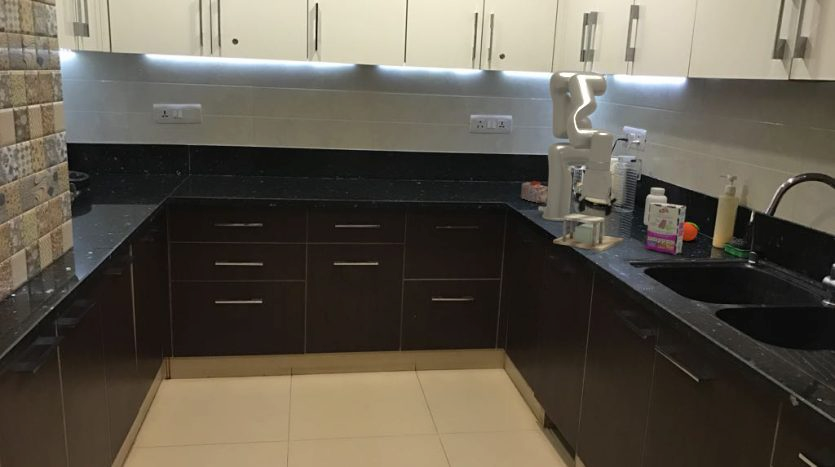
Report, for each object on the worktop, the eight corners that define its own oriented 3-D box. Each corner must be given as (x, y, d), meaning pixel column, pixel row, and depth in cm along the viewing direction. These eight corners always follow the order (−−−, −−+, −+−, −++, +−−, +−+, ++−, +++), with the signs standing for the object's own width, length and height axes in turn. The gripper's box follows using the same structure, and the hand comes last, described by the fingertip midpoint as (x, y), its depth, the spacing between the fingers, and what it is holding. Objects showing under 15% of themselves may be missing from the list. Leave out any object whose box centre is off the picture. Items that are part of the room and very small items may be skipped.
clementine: (702, 241, 257) (704, 222, 256) (693, 244, 253) (695, 225, 251) (681, 237, 263) (683, 219, 261) (672, 240, 258) (674, 221, 257)
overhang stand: (553, 242, 249) (555, 215, 247) (576, 233, 265) (578, 207, 262) (601, 251, 238) (604, 222, 236) (622, 241, 254) (625, 214, 252)
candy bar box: (681, 253, 239) (687, 205, 236) (675, 255, 236) (680, 207, 232) (651, 246, 247) (656, 201, 243) (644, 249, 244) (649, 202, 240)
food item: (549, 203, 327) (551, 182, 324) (536, 204, 322) (538, 183, 320) (530, 198, 338) (532, 178, 336) (517, 200, 334) (519, 179, 332)
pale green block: (574, 240, 248) (575, 227, 247) (588, 234, 259) (590, 221, 257) (589, 243, 245) (590, 229, 244) (603, 237, 255) (604, 223, 254)
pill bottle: (667, 227, 281) (671, 190, 277) (647, 226, 280) (651, 189, 277) (660, 223, 288) (663, 187, 285) (640, 222, 288) (644, 186, 285)
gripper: (572, 164, 251) (568, 211, 256) (618, 170, 241) (613, 218, 246) (580, 162, 257) (576, 208, 261) (626, 168, 247) (621, 215, 252)
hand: (594, 213), depth 254 cm, fingers open, 9 cm apart
